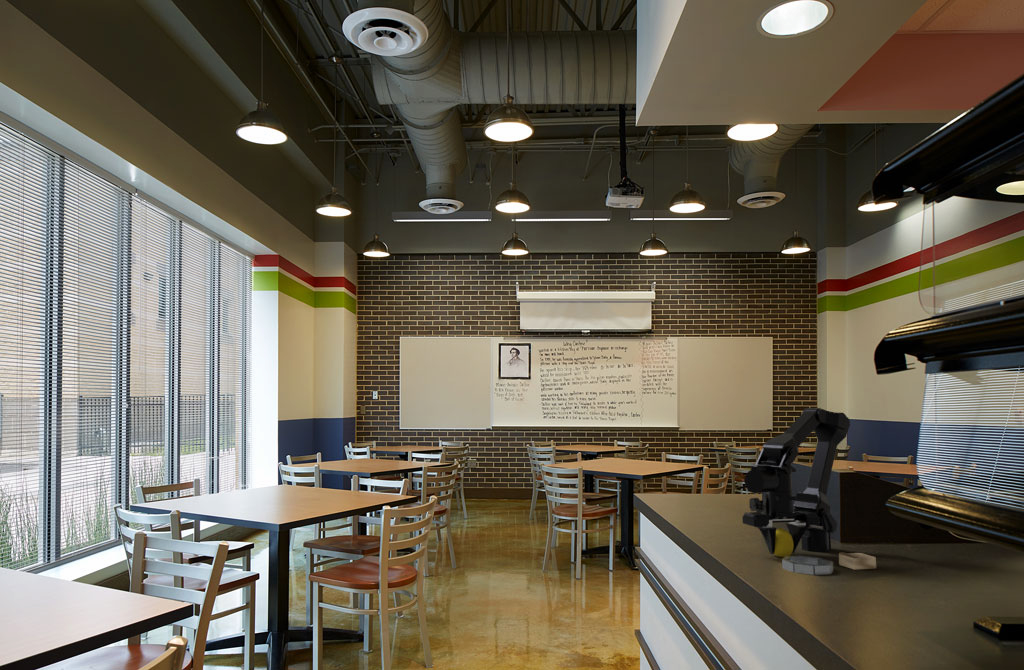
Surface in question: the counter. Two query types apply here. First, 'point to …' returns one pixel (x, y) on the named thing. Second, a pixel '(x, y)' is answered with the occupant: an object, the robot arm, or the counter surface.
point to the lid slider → (857, 561)
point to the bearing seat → (807, 565)
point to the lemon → (783, 543)
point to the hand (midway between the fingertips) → (782, 553)
